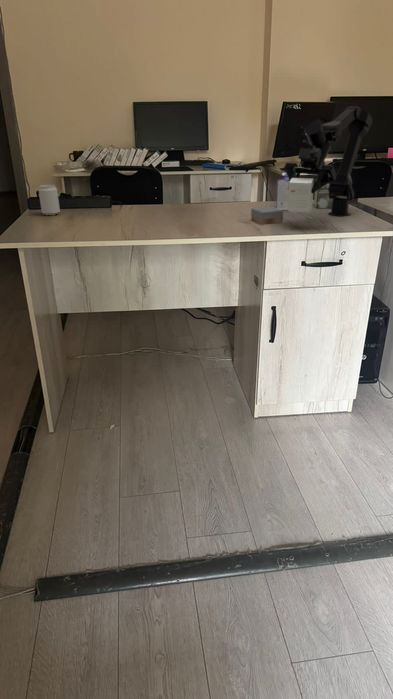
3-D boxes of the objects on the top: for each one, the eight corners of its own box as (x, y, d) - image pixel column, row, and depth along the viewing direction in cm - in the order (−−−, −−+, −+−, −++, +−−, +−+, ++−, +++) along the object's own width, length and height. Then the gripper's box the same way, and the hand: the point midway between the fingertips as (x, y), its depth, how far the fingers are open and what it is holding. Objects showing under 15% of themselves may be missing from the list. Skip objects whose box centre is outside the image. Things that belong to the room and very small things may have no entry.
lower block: (271, 219, 202) (271, 213, 201) (282, 223, 195) (282, 217, 194) (251, 221, 200) (251, 214, 199) (261, 225, 192) (261, 219, 191)
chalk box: (334, 205, 227) (337, 170, 220) (337, 208, 219) (341, 172, 212) (313, 204, 228) (316, 170, 221) (315, 208, 220) (318, 172, 213)
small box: (312, 207, 183) (314, 178, 177) (309, 212, 179) (311, 182, 173) (290, 206, 186) (291, 177, 180) (287, 211, 182) (288, 182, 176)
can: (57, 216, 212) (53, 186, 207) (39, 216, 212) (35, 186, 207) (62, 212, 219) (58, 183, 214) (45, 213, 219) (40, 184, 214)
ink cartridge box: (298, 208, 221) (300, 173, 215) (299, 210, 216) (302, 174, 210) (275, 208, 222) (277, 173, 215) (276, 210, 217) (278, 175, 210)
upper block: (271, 213, 201) (271, 206, 200) (282, 217, 193) (283, 210, 192) (251, 215, 198) (251, 208, 197) (261, 219, 191) (262, 212, 189)
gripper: (288, 138, 180) (269, 174, 178) (336, 139, 169) (317, 178, 166) (297, 159, 189) (280, 194, 186) (344, 162, 178) (326, 199, 175)
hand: (300, 191), depth 178 cm, fingers closed on small box, 9 cm apart
